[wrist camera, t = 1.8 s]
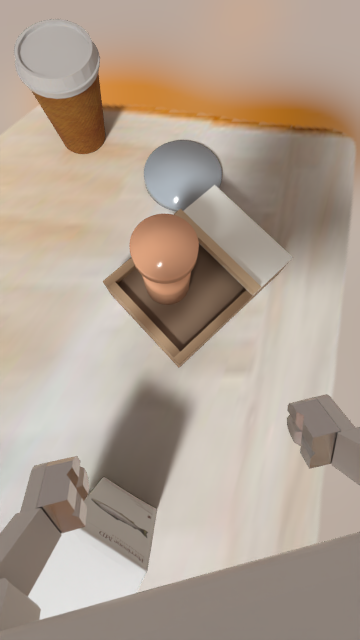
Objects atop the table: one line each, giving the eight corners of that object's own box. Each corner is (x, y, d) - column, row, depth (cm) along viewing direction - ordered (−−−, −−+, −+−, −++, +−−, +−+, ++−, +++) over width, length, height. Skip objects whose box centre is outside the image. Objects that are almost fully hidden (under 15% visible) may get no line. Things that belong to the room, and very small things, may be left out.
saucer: (128, 175, 44) (127, 170, 43) (184, 132, 46) (184, 127, 45) (181, 226, 42) (181, 222, 41) (236, 180, 44) (237, 175, 43)
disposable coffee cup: (116, 163, 44) (95, 82, 33) (49, 164, 44) (5, 82, 32) (116, 109, 47) (97, 15, 35) (53, 110, 46) (13, 15, 35)
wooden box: (111, 294, 40) (102, 281, 35) (209, 211, 43) (213, 188, 38) (179, 367, 38) (180, 364, 33) (276, 275, 41) (290, 260, 36)
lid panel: (174, 222, 37) (174, 213, 35) (213, 188, 38) (215, 179, 36) (251, 297, 35) (255, 292, 33) (290, 260, 36) (296, 253, 34)
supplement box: (159, 507, 35) (151, 573, 22) (124, 574, 33) (95, 684, 21) (104, 473, 35) (67, 517, 23) (67, 536, 34) (6, 621, 21)
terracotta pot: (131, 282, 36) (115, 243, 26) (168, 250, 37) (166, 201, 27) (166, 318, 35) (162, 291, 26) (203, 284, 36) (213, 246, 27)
